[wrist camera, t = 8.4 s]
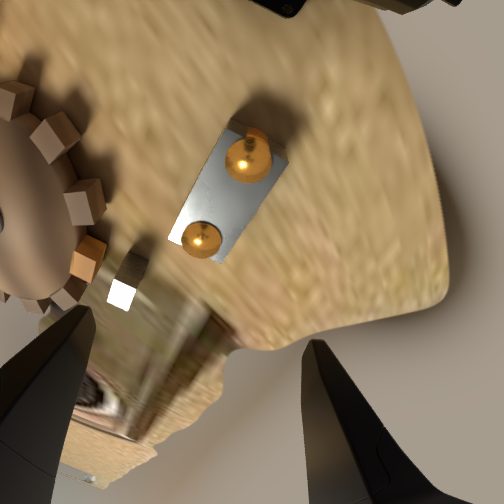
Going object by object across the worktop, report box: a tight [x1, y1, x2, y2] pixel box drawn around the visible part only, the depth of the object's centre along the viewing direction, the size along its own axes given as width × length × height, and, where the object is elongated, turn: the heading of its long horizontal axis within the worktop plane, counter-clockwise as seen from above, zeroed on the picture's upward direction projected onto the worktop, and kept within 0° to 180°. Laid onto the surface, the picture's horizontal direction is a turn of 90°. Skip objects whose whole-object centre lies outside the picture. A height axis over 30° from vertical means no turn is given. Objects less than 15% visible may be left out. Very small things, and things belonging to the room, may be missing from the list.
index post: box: [107, 252, 148, 311], centre depth 20 cm, size 2×2×3 cm
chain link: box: [168, 118, 289, 264], centre depth 17 cm, size 7×3×3 cm, turn 150°
